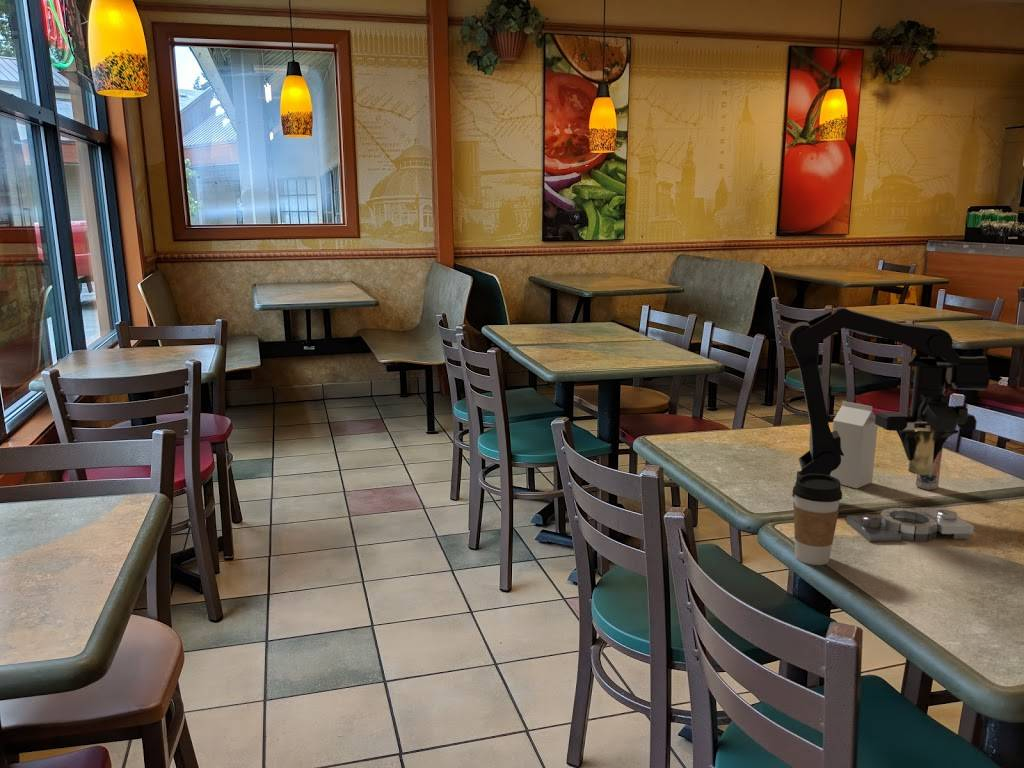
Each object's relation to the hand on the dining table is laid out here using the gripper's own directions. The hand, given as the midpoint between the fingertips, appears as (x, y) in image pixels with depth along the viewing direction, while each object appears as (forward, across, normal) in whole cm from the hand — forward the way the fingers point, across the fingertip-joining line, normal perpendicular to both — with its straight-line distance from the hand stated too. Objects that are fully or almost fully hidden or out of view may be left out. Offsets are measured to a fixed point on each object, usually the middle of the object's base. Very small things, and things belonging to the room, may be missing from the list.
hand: (921, 460), depth 168 cm
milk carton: (+11, -6, +18) cm, 22 cm away
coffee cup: (+11, -32, -24) cm, 42 cm away
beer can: (+11, +10, +14) cm, 21 cm away
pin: (+2, 0, 0) cm, 2 cm away
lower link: (+11, -11, -12) cm, 19 cm away
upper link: (+11, -6, -12) cm, 17 cm away
